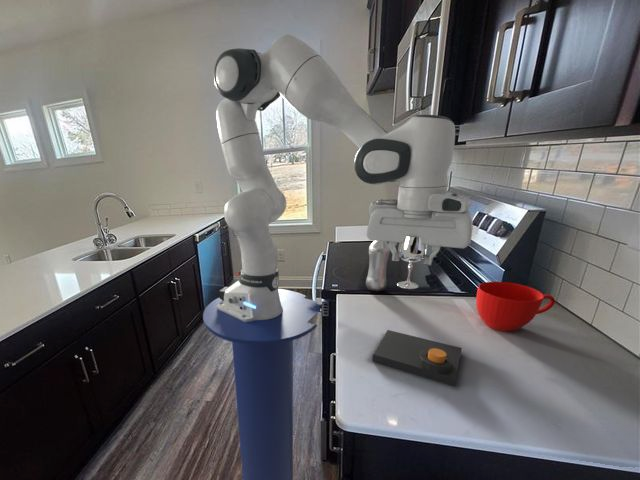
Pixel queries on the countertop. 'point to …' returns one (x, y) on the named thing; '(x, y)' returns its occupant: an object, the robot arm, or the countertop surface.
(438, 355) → the button
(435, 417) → the countertop surface
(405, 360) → the dark grey button box
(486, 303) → the ceramic cup
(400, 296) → the countertop surface
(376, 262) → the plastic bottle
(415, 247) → the wineglass
